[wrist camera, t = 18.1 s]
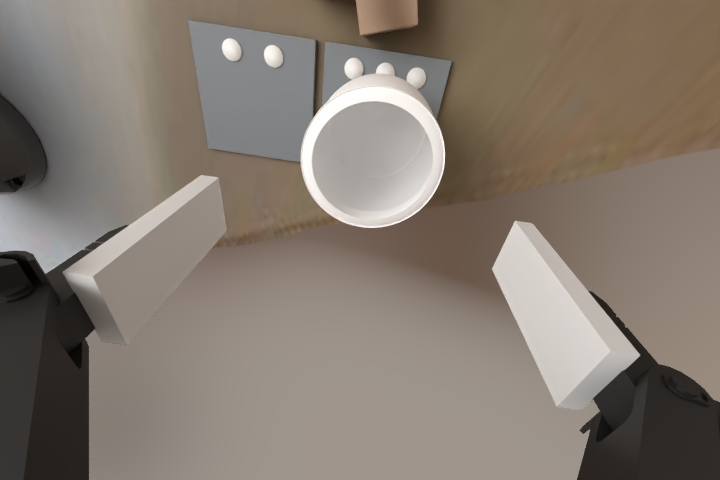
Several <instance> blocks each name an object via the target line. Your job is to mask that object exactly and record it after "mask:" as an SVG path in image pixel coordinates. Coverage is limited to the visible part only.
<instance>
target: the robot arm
mask: <svg viewBox="0 0 720 480" xmlns="http://www.w3.org/2000/svg"><path fill="white" fill-rule="evenodd" d="M45 172H46V159H45V155H44V152H43V149H42V146H41V144H40V142H39V140H38V138H37V136H36V135H35V133H34V132H33V130H32V129H31V127H30V126H29V124H28V123H27V122H26V121H25V119H24V118H23V117H22V116H21V115H20V114H19V113H18V112H17V111H16V110H15V109H14V108H13V107H12V106H11V105H10V104H9V103H8V102H7V101H6V100H5V99H3V98H2V97H1V96H0V195H6V194H13V193H17V192H20V191H23V190H26V189H28V188H31V187H33V186H35V185H37V184H38V183H40V182H41V181H42V179H43V178H44V175H45ZM226 231H227V229H226V222H225V216H224V209H223V202H222V196H221V189H220V183H219V178H218V177H211V176H204V175H201V176H199V177H198V178H196V179H195V180H194V181H192V182H191V183H189V184H188V185H186V186H185V187H183V188H182V189H181V190H179V191H178V192H176V193H175V194H173V195H172V196H171V197H169V198H168V199H166V200H165V201H163V202H162V203H161V204H159V205H158V206H156V207H155V208H153V209H152V210H151V211H149V212H148V213H146V214H145V215H143V216H142V217H140V218H139V219H138V220H136V221H135V222H133V223H132V224H130V225H125V226H123V227H120V228H117V229H115V230H112V231H110V232H108V233H107V234H105V235H104V236H102V237H101V238H99V239H98V240H96V242H95V243H92V244H90V245H89V246H87V247H86V248H85V250H81V251H80V252H78V253H77V254H75V255H74V256H72V257H71V258H69V259H68V260H66V261H65V262H63V263H62V264H60V265H59V266H57V267H56V268H54V269H53V270H51V271H50V272H48V273H47V274H45V273H44V272H43V270H42V268H41V267H40V265H39V263H38V262H37V260H36V259H35V257H34V255H33V254H31V253H28V252H26V251H7V252H0V480H89V346H88V344H87V341H86V340H85V338H86V337H87V336H88V335H89V334H90V333H91V332H92V331H93V330H94V329H95V330H96V332H97V334H98V336H99V337H100V339H101V341H102V342H106V343H113V344H120V345H128V344H129V343H130V342H131V341H132V340H133V338H134V337H135V336H136V335H137V334H138V333H139V332H140V330H141V329H142V328H143V327H144V326H145V325H146V323H147V322H148V321H149V320H150V319H151V317H153V315H154V314H155V313H156V312H157V311H158V309H159V308H160V307H161V306H162V305H163V304H164V303H165V302H166V300H167V299H168V298H169V297H170V296H171V295H172V293H173V292H174V291H175V290H176V289H177V287H178V286H179V285H180V284H181V283H182V282H183V281H184V280H185V278H186V277H187V276H188V275H189V274H190V273H191V271H192V270H193V269H194V268H195V267H196V266H197V265H198V263H199V262H200V261H201V260H202V259H203V257H204V256H205V255H206V254H207V253H208V252H209V251H210V249H211V248H212V247H213V246H214V245H215V244H216V243H217V241H218V240H219V239H220V238H221V237H222V236H223V234H224V233H225V232H226ZM492 270H493V272H494V274H495V276H496V279H497V280H498V283H499V285H500V287H501V289H502V292H503V294H504V296H505V298H506V300H507V302H508V304H509V306H510V309H511V311H512V313H513V315H514V317H515V319H516V321H517V323H518V326H519V327H520V330H521V332H522V334H523V336H524V338H525V340H526V342H527V345H528V347H529V348H530V351H531V353H532V355H533V357H534V359H535V362H536V363H537V366H538V368H539V370H540V372H541V374H542V376H543V378H544V381H545V383H546V385H547V387H548V389H549V391H550V393H551V395H552V397H553V400H554V402H555V404H556V406H557V407H561V408H568V409H575V410H582V409H584V408H585V407H586V406H587V405H588V404H589V403H590V402H591V401H592V400H593V399H594V401H595V403H596V404H597V406H598V408H599V410H600V412H599V413H598V414H596V415H595V416H594V417H593V418H592V419H591V420H590V421H589V422H587V423H586V424H585V425H584V426H583V427H582V428H581V430H580V431H581V432H582V433H583V434H584V433H585V432H586V431H587V430H590V434H589V438H588V441H587V445H586V448H585V452H584V456H583V459H582V463H581V467H580V471H579V474H578V478H577V480H720V402H718V401H715V400H713V399H712V398H711V397H710V395H709V394H708V393H707V392H706V391H705V389H703V388H702V387H701V386H700V385H699V384H698V383H696V382H695V381H694V380H693V379H691V378H690V377H688V376H686V375H685V374H683V373H682V372H680V371H677V370H675V369H673V368H671V367H668V366H664V365H659V364H658V363H657V362H656V361H655V360H654V358H653V357H652V356H651V355H650V354H649V353H648V352H647V350H646V349H645V348H644V347H643V346H642V344H641V343H640V342H639V341H638V340H637V339H636V337H635V336H634V335H633V334H632V333H631V332H630V331H629V329H628V328H625V325H624V323H623V322H622V321H621V320H620V319H619V318H618V317H616V314H615V313H614V312H613V311H612V309H611V308H610V307H609V306H608V305H607V304H606V302H604V301H603V300H602V299H600V298H599V297H598V296H597V295H595V294H594V293H593V292H590V291H587V289H586V288H585V287H584V286H583V284H582V283H581V282H580V281H579V280H578V278H577V277H576V276H575V275H574V274H573V272H572V271H571V270H570V269H569V267H568V266H567V265H566V264H565V263H564V261H563V260H562V259H561V258H560V257H559V255H558V254H557V253H556V252H555V250H554V249H553V248H552V247H551V245H550V244H549V243H548V242H547V241H546V239H545V238H544V237H543V236H542V235H541V233H540V232H539V231H538V230H537V228H536V227H535V226H534V225H533V224H532V223H527V222H520V221H515V222H514V224H513V226H512V228H511V230H510V233H509V235H508V237H507V239H506V241H505V243H504V245H503V247H502V249H501V251H500V253H499V255H498V258H497V260H496V262H495V264H494V266H493V268H492Z"/></svg>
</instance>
